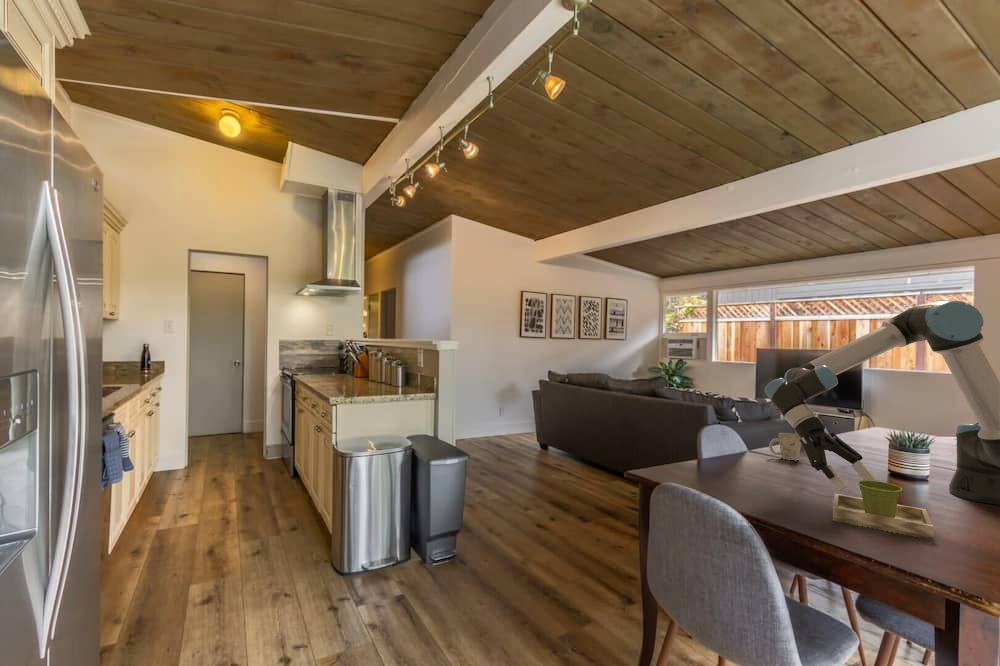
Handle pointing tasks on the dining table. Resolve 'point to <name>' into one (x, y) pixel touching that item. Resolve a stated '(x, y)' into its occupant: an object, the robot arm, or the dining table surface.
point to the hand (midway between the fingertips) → (858, 485)
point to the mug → (787, 446)
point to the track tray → (883, 518)
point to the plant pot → (879, 497)
